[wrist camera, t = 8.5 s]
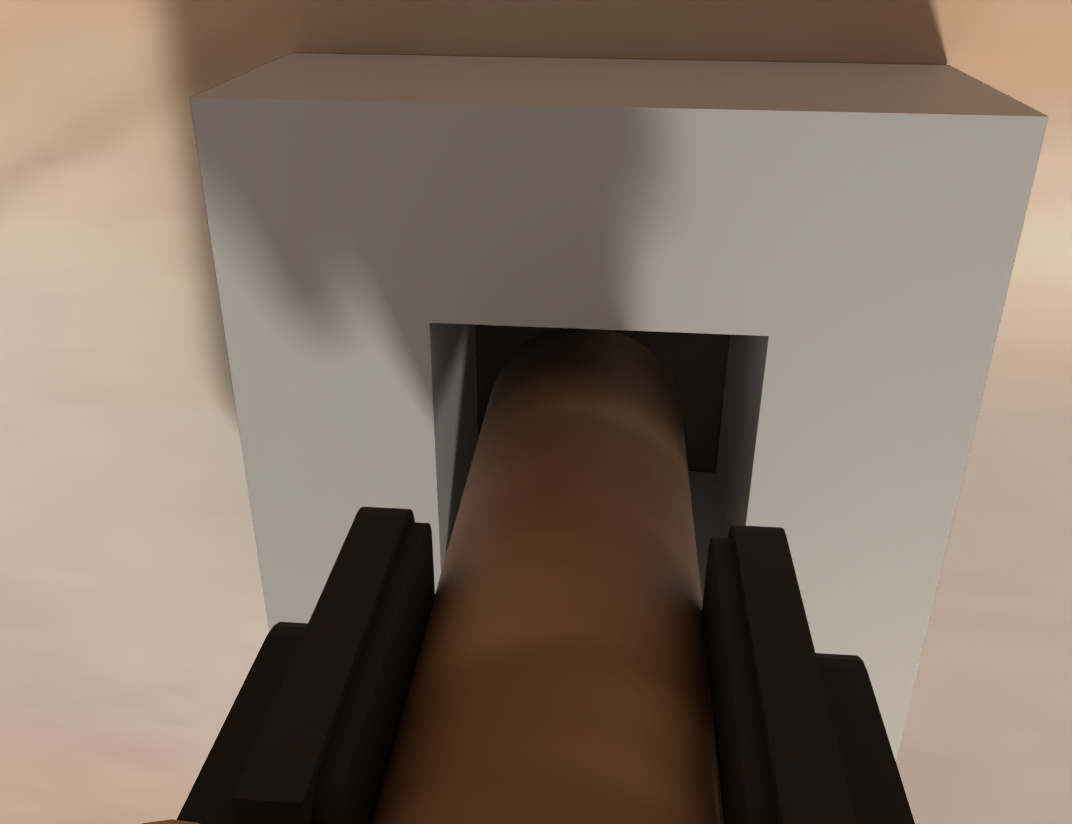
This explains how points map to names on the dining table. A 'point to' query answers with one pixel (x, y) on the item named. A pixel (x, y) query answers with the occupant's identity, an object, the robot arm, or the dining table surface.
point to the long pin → (566, 610)
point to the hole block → (622, 292)
